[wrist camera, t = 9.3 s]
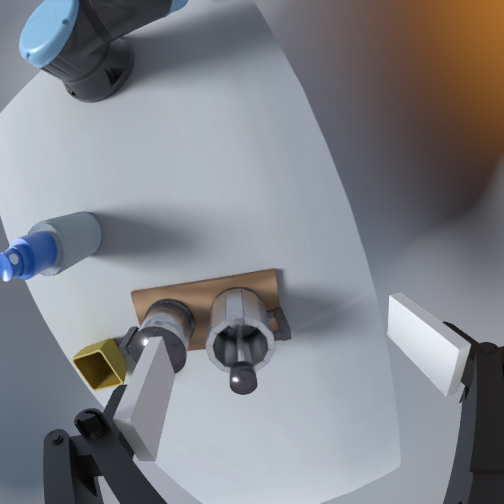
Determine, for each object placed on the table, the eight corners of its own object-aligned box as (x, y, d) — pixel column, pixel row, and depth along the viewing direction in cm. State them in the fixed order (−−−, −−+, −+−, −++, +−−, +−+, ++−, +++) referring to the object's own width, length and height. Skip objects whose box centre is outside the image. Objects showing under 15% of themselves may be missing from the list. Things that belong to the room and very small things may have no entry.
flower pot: (115, 328, 56) (100, 349, 47) (135, 360, 58) (124, 384, 49) (86, 338, 56) (70, 359, 47) (106, 369, 58) (93, 392, 49)
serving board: (132, 290, 54) (130, 293, 52) (273, 268, 55) (275, 270, 53) (151, 350, 57) (150, 354, 56) (282, 332, 58) (283, 336, 57)
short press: (128, 303, 53) (96, 345, 37) (188, 295, 53) (173, 338, 37) (142, 347, 55) (119, 396, 39) (200, 340, 56) (191, 393, 40)
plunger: (216, 305, 51) (210, 367, 32) (254, 299, 51) (267, 358, 33) (223, 338, 52) (222, 406, 34) (259, 332, 53) (273, 399, 34)
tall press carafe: (205, 291, 53) (199, 323, 41) (275, 280, 54) (289, 308, 41) (216, 339, 56) (214, 378, 43) (282, 328, 56) (295, 365, 44)
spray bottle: (89, 203, 49) (6, 220, 25) (109, 243, 51) (36, 284, 27) (59, 225, 50) (-24, 253, 25) (78, 263, 52) (3, 310, 28)
